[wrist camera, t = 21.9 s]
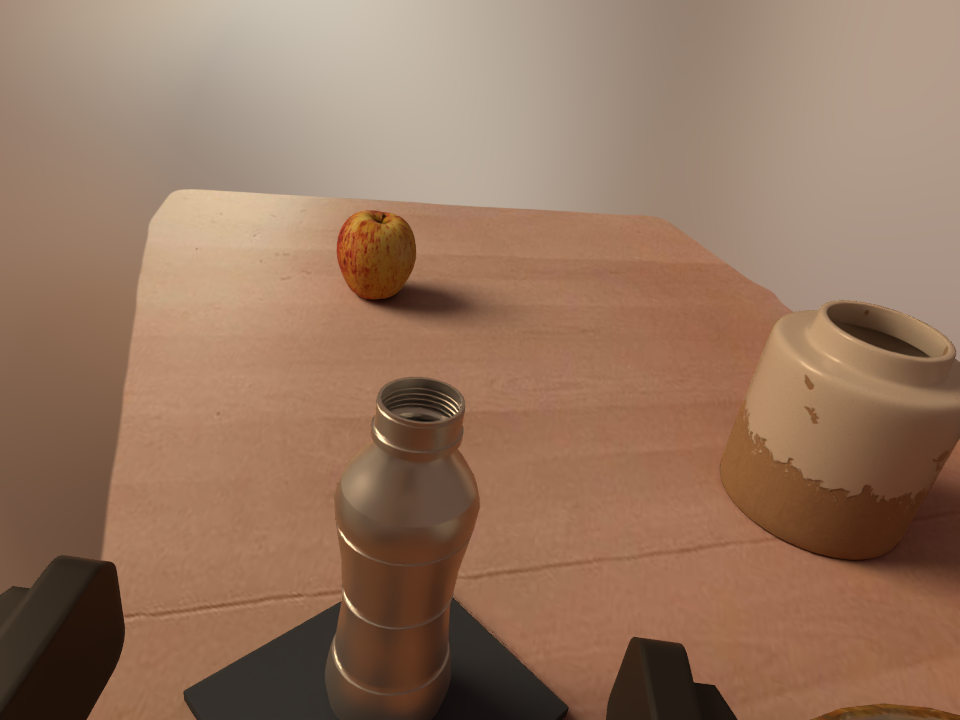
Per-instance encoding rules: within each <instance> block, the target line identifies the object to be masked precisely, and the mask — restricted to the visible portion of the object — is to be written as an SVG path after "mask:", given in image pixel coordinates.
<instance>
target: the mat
mask: <svg viewBox="0 0 960 720" xmlns="http://www.w3.org/2000/svg"><path fill="white" fill-rule="evenodd" d="M341 602H342V601H341ZM341 602H339V603H337V604H336V605H334V606H332V607H330V608H329V609H327V610H325V611H323V612H322V613H320V614H318V615H316V616H315V617H313V618H311V619H309V620H307V621H306V622H304V623H302V624H300V625H299V626H297V627H295V628H293V629H292V630H290V631H288V632H286V633H285V634H283V635H281V636H279V637H278V638H276V639H274V640H272V641H271V642H269V643H267V644H265V645H264V646H262V647H260V648H258V649H257V650H255V651H253V652H251V653H250V654H248V655H246V656H244V657H242V658H241V659H239V660H237V661H235V662H234V663H232V664H230V665H228V666H227V667H225V668H223V669H221V670H220V671H218V672H216V673H214V674H213V675H211V676H209V677H207V678H206V679H204V680H202V681H200V682H199V683H197V684H195V685H193V686H192V687H190V688H188V689H186V690H185V691H184V700H185V702H186V703H187V705H188V707H189V708H190V710H191V711H192V713H193V714H194V716H195V717H196V719H197V720H339V719H338V718H337V716H336V715H335V713H334V711H333V709H332V708H331V704H330V701H329V697H328V693H327V689H326V684H325V668H326V662H327V658H328V654H329V650H330V646H331V643H332V641H333V638H334V636H335V634H336V630H337V625H338V619H339V613H340V608H341ZM448 640H449V645H450V652H451V680H450V684H449V688H448V691H447V693H446V695H445V698H444V700H443V702H442V704H441V706H440V708H439V710H438V712H437V714H436V715H435V716H434V717H433V718H432V720H562V719H564V718H565V717H566V715H567V712H568V709H569V707H568V706H567V705H566V704H565V703H564V702H562V701H561V700H560V699H559V698H558V697H557V696H556V695H555V694H554V693H553V692H552V691H551V690H550V689H549V688H548V687H547V686H545V685H544V684H543V683H542V682H541V681H540V680H539V679H538V678H537V677H536V676H535V675H534V674H533V673H532V672H531V671H530V670H528V669H527V668H526V667H525V666H524V665H523V664H522V663H521V662H520V661H519V660H518V659H517V658H516V657H515V656H514V655H513V654H512V653H510V652H509V651H508V650H507V649H506V648H505V647H504V646H503V645H502V644H501V643H500V642H499V641H498V640H497V639H496V638H495V637H493V636H492V635H491V634H490V633H489V632H488V631H487V630H486V629H485V628H484V627H483V626H482V625H481V624H480V623H479V622H478V621H477V620H475V619H474V618H473V617H472V616H471V615H470V614H469V613H468V612H467V611H466V610H465V609H464V608H463V607H462V606H461V605H460V604H458V603H457V602H456V601H455V600H454V599H453V598H452V600H451V604H450V616H449V637H448Z"/></svg>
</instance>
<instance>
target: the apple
mask: <svg viewBox="0 0 960 720" xmlns="http://www.w3.org/2000/svg"><path fill="white" fill-rule="evenodd" d="M337 258H338V263H339V266H340V269H341V272H342V274H343V276H344V279H345V281H346V283H347V284H348V286H349V287H350V289H351V290H352V291H353V292H355V293H356V294H358V295H359V296H360V297H362V298H365V299H385V298H388V297H391V296H393V295H395V294H396V293H397V292H398V291H399V290H400V289H401V288H402V287H403V286H404V284H405V283H406V281H407V279H408V278H409V276H410V274H411V272H412V270H413V267H414V264H415V260H416V244H415V238H414V235H413V232H412V230H411V228H410V226H409V225H408V223H407V222H406V221H405V220H404V219H403V218H401V217H400V216H397V215H395V214H391V213H385V212H380V211H361V212H358V213H355V214H354V215H352V216H351V217H350V218H349V219H348V220H347V221H346V222H345V223H344V225H343V226H342V228H341V230H340V233H339V236H338V241H337Z"/></svg>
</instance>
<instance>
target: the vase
mask: <svg viewBox="0 0 960 720" xmlns="http://www.w3.org/2000/svg"><path fill="white" fill-rule="evenodd" d="M955 356H956V349H955V347H954V345H953V344H952V342H951V341H950V340H949V339H948V338H947V337H946V336H944V335H943V334H942V333H940V332H939V331H938V330H936V329H934V328H933V327H931V326H929V325H928V324H926V323H924V322H922V321H920V320H918V319H915V318H913V317H911V316H909V315H906V314H903V313H901V312H898V311H895V310H892V309H889V308H885V307H882V306H878V305H874V304H869V303H864V302H858V301H844V300H841V301H832V302H828V303H826V304H824V305H822V306H821V308H820V309H819V311H818V310H811V311H810V310H808V311H798V312H793V313H790V314H787V315H785V316H783V317H782V318H780V319H779V320H778V321H777V322H776V323H775V325H774V326H773V328H772V330H771V332H770V335H769V337H768V340H767V342H766V345H765V347H764V350H763V352H762V355H761V358H760V360H759V363H758V365H757V368H756V371H755V373H754V376H753V378H752V381H751V383H750V386H749V389H748V391H747V394H746V396H745V399H744V401H743V404H742V407H741V409H740V412H739V414H738V417H737V420H736V422H735V425H734V427H733V430H732V432H731V435H730V438H729V440H728V443H727V445H726V448H725V451H724V453H723V456H722V460H721V464H720V475H721V480H722V483H723V485H724V488H725V489H726V491H727V493H728V495H729V496H730V498H731V499H732V500H733V502H734V503H735V504H736V505H737V506H738V507H739V508H740V509H741V510H742V511H743V512H744V513H745V514H746V515H747V516H748V517H749V518H751V519H752V520H753V521H754V522H756V523H757V524H758V525H760V526H761V527H762V528H764V529H765V530H767V531H769V532H770V533H772V534H774V535H775V536H777V537H779V538H781V539H783V540H785V541H787V542H789V543H791V544H793V545H795V546H798V547H800V548H803V549H805V550H808V551H811V552H814V553H817V554H821V555H825V556H829V557H834V558H840V559H851V560H862V559H870V558H875V557H879V556H881V555H883V554H885V553H887V552H889V551H890V550H892V549H893V548H894V547H895V546H896V545H897V544H898V542H899V541H900V540H901V538H902V537H903V535H904V533H905V532H906V530H907V528H908V527H909V525H910V523H911V521H912V520H913V518H914V516H915V515H916V513H917V511H918V509H919V508H920V506H921V504H922V503H923V501H924V499H925V497H926V496H927V494H928V492H929V490H930V489H931V487H932V485H933V484H934V482H935V480H936V478H937V477H938V475H939V473H940V472H941V470H942V468H943V466H944V465H945V463H946V461H947V459H948V458H949V456H950V454H951V453H952V451H953V449H954V447H955V446H956V444H957V442H958V441H959V439H960V362H959V361H958V360H956V359H955Z"/></svg>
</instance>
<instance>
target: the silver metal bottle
mask: <svg viewBox="0 0 960 720" xmlns="http://www.w3.org/2000/svg"><path fill="white" fill-rule="evenodd" d="M464 413H465V400H464V397H463V396H462V394H461V393H460V392H459V391H458V390H457V389H456V388H454V387H453V386H451V385H449V384H447V383H445V382H442V381H439V380H436V379H431V378H424V377H408V378H401V379H397V380H394V381H391V382H389V383H388V384H386V385H384V386H383V387H382V388H381V390H380V391H379V393H378V396H377V401H376V410H375V416H374V417H373V419H372V424H371V437H372V439H373V440H372V441H370V442H369V443H368V444H367V445H365V446H364V447H363V448H362V449H361V450H360V451H359V452H358V453H357V454H356V455H355V456H354V457H353V459H352V460H351V461H350V462H349V463H348V464H347V465H346V467H345V469H344V470H343V472H342V474H341V477H340V479H339V481H338V483H337V486H336V490H335V494H334V502H335V520H336V525H337V532H338V539H339V546H340V553H341V566H342V602H341V608H340V613H339V619H338V625H337V630H336V634H335V636H334V638H333V641H332V643H331V646H330V650H329V654H328V658H327V662H326V668H325V684H326V689H327V693H328V697H329V701H330V704H331V708H332V709H333V711H334V713H335V715H336V716H337V718H338V719H339V720H432V718H433V717H434V716H435V715H436V714H437V712H438V710H439V708H440V706H441V704H442V702H443V700H444V698H445V695H446V693H447V691H448V688H449V684H450V680H451V652H450V645H449V640H448V637H449V616H450V604H451V600H452V596H453V591H454V587H455V583H456V579H457V575H458V571H459V568H460V565H461V562H462V560H463V557H464V554H465V551H466V549H467V546H468V543H469V541H470V538H471V535H472V532H473V530H474V527H475V523H476V520H477V516H478V512H479V508H480V498H479V493H478V488H477V483H476V480H475V477H474V474H473V473H472V471H471V469H470V467H469V465H468V464H467V462H466V460H465V459H464V457H463V456H462V454H461V453H460V451H459V450H458V448H459V446H460V444H461V442H462V437H463V425H462V424H463V418H464Z"/></svg>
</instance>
